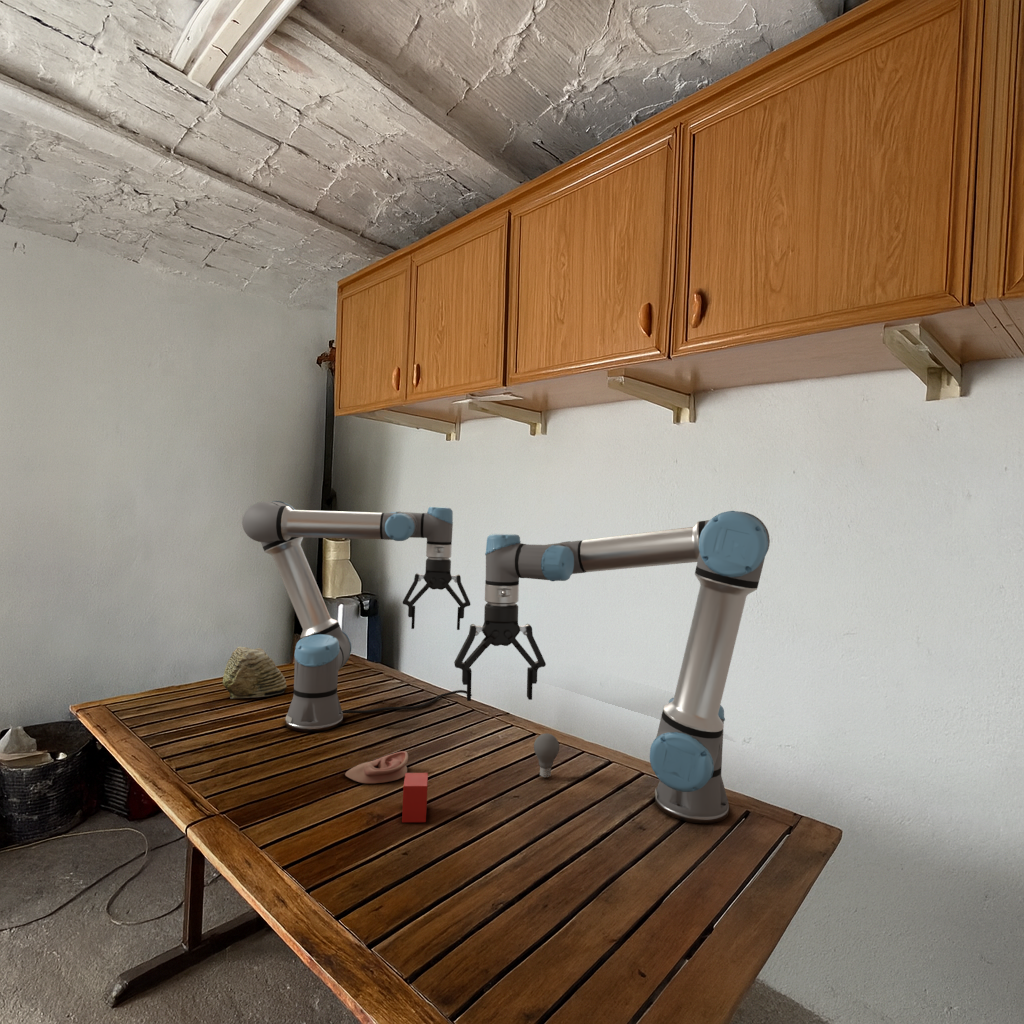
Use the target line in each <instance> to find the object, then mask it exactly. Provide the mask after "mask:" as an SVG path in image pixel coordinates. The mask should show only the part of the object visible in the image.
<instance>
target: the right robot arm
mask: <svg viewBox="0 0 1024 1024" xmlns="http://www.w3.org/2000/svg"><path fill="white" fill-rule="evenodd" d="M770 543H771V539H770V533H769V530H768V527H767V526H766V525H765V523H764V522H763V520H761V519H760V518H758V517H757V516H756V515H754V514H752V513H749V512H746V511H738V510H737V511H736V510H728V511H723V512H720V513H718V514H717V515H714V516H712V517H711V518H710V519H707V520H699V521H697V522H696V523H695V525H694V526H689V527H681V528H671V529H664V530H656V531H648V532H639V533H638V532H637V533H631V534H630V533H629V534H622V535H615V536H614V535H613V536H606V537H597V538H589V539H583V540H572V541H571V540H570V541H561V542H558V543H548V544H527V543H522V541H521V536H520V535H518V534H516V533H515V534H514V533H491V534H489V535H488V536H487V538H486V545H485V553H484V556H485V581H484V601H485V604H484V615H483V625H476V624H474V623H471V624H470V625H469V631H468V635H467V637H466V639H465V641H463V642H464V643H463V644H462V646H461V648H460V650H459V652H458V653H457V655H456V658H455V660H454V662H453V663H454V667H455V668H456V669H460V670H461V671H462V672H461V683H462V686H466V691H467V694H466V700H467V702H471V701H472V696H471V694H472V675H473V673H472V672H473V671H472V668H471V667H472V666H473V665H474V664H475V662H476V661H477V660H478V659H479V658H480V656H481V655H482V654H483V653H484V652H485V651H486V650H487V649H488V648H489V647H490V646H491V645H492V646H493V647H500V646H503V647H508V646H510V645H511V644H512V645H513V647H514V648H515V649H516V651H518V652H519V654H520V655H521V656H522V657H523V659H524V660H525V661H526V662H527V663H528V665H529V666H530V667H527V669H526V670H527V672H526V674H527V675H526V698H527V700H528V701H532V700H533V685H536V684H537V682H538V670H539V669H540V668H545V667H546V665H547V663H546V661H545V659H544V655H542V653H541V650H540V648H539V646H538V644H537V642H536V639H535V637H534V634H533V627H532V626H531V624H530V623H526V624H525V625H519V605H518V604H517V603H518V602H519V594H520V593H519V586H520V579H530V580H532V579H533V580H542V581H550V582H565V581H568V580H569V579H570V578H571V576H572V575H576V574H586V573H595V572H604V571H605V572H606V571H615V570H616V571H617V570H627V569H637V568H647V567H657V566H667V565H678V564H679V565H681V564H691V563H696V567H695V570H694V575H695V577H696V579H697V580H698V582H699V584H700V585H699V590H698V594H697V598H696V602H695V605H694V606H695V607H694V610H693V615H692V619H691V624H690V628H689V632H688V636H687V639H686V640H687V641H686V645H685V649H684V654H683V657H682V661H681V667H680V671H679V675H678V679H677V682H676V683H677V684H676V687H675V691H674V697H672V698H670V699H669V701H668V703H666V704H664V705H663V708H662V711H661V712H662V713H661V716H660V720H659V725H658V728H657V733H656V736H655V738H654V739H653V741H652V743H651V745H650V749H649V764H650V767H651V769H652V772H654V774H655V776H656V777H657V778H658V780H659V781H658V784H657V786H656V787H655V789H654V794H655V795H654V802H655V805H656V807H657V808H658V809H660V810H661V811H662V812H663V813H665V814H666V815H667V816H668V815H669V816H670V817H672V818H674V819H677V820H680V821H684V822H688V823H693V824H714V823H720V822H722V821H723V820H725V819H727V817H728V815H729V809H730V808H729V807H730V804H729V799H728V794H727V791H726V788H725V785H724V781H723V777H722V765H723V745H724V726H725V721H726V718H725V709H724V707H723V706H722V701H723V695H724V691H725V688H726V683H727V680H728V679H727V678H728V675H729V670H730V667H731V662H732V659H733V654H734V651H735V646H736V642H737V638H738V634H739V629H740V625H741V621H742V616H743V613H744V609H745V605H746V601H747V597H748V595H750V594H751V593H753V592H755V591H757V590H758V587H759V584H760V579H761V575H762V572H763V568H764V563H765V560H766V555H767V554H768V551H769V549H770ZM480 633H482V634H483V635H484V636H485V637H484V638H483V639H482V640H481V642H480V643H479V644H478V646H477V647H476V648H475V649H474V650H473V651H472V652H471V653H470V655H469V656H468V657H467V658H466V656H467V654H468V652H469V650H470V648H471V646H472V645H473V642H474V640H475V638H476V636H479V634H480ZM520 633H522V635H524V636H526V639H527V641H528V643H529V645H530V647H531V650H532V651H533V653H534V656H535V657H536V661H535V660H534V659H533V658H532V657H531V656H530V654H529V653H528V652H527V651H526V649H525V648H524V647H523V646H522V645H521V643H520V642H519V641H518V640H517V636H518V635H519V634H520ZM465 658H466V659H465ZM464 660H465V661H464Z"/></svg>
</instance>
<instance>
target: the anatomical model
mask: <svg viewBox="0 0 1024 1024" xmlns="http://www.w3.org/2000/svg"><path fill="white" fill-rule="evenodd" d="M408 761H409V753H408V752H407V751H404V750H402V751H397V752H394V753H393V752H392V753H390V754H387V755H384V756H381V757H378V758H376V759H373V760H371V761H367V762H362V763H359V764H357V765H355V766H353V767H351V768H350V769H348V770H347V771H346V772H345V773H344V775H345V777H347V778H348V779H349V780H352V781H354V782H358V783H360V784H380V783H388V782H393V781H397V780H400V779H402V778H405V773H408V767H407V763H408Z"/></svg>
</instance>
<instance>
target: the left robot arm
mask: <svg viewBox="0 0 1024 1024" xmlns="http://www.w3.org/2000/svg"><path fill="white" fill-rule="evenodd" d="M453 515H454V513H453V510H452V508H450V507H447V506H446V507H444V506H429V507H428V509H427V512H411V511H410V512H408V511H389V512H371V511H370V512H369V511H342V510H341V511H338V510H306V509H295V508H294V507H293V505H291V504H289V503H286V502H284V501H280V500H272V501H259V502H255V503H253V504H251V505H250V506H248V507H247V509H246V510H245V511H244V513H243V515H242V519H241V520H242V521H241V524H242V529H243V531H244V533H245V534H246V535H247V537H248V538H250V540H253V541H255V542H258V543H260V545H261V547H262V550H263V551H264V553H266V554H268V555H270V556H272V558H273V561H274V564H275V566H276V568H277V571H278V574H279V575H280V579H281V580H282V583H283V585H284V587H285V590H286V593H287V595H288V598H289V600H290V603H291V605H292V607H293V609H294V612H295V614H296V617H297V619H298V621H299V624H300V626H301V628H302V632H301V634H300V637H299V638H300V639H299V640H298V641H297V642H296V643H295V650H294V655H293V656H294V672H293V673H294V674H293V695H292V696H293V697H292V699H291V702H290V704H289V708H288V711H287V713H286V715H285V726H286V728H287V729H289V730H291V731H294V732H295V731H296V732H301V733H316V732H325V731H329V730H332V729H335V728H337V727H339V726H340V725H342V723H343V722H344V714H370V713H377V712H382V711H392V710H393V711H395V710H397V711H398V710H399V711H400V710H402V711H404V710H405V711H406V710H407V711H408V710H416V709H420V708H424V707H426V706H429V705H431V704H433V703H435V702H437V701H438V700H440V698H443V697H447V696H451V695H454V694H455V695H456V694H466V695H467V690H464V689H458V690H453V691H449V692H446V693H445V692H444V693H442V694H439V695H437V696H436V697H435V698H434V699H431V700H430V701H427V702H424V703H422V704H418V705H411V706H385V707H379V708H373V709H362V710H361V709H359V710H357V709H356V710H355V709H354V710H353V709H350V710H349V709H348V710H347V709H346V710H343V709H342V706H341V702H340V699H339V695H338V682H339V681H338V680H339V678H338V677H339V671H340V670H341V668H342V667H344V666H346V664H347V663H348V661H349V659H350V656H351V653H352V648H353V647H352V641H351V638H350V636H349V635H348V634H347V633H346V632H345V631H343V630H342V628H341V625H340V623H339V621H338V620H337V619H334V618H332V616H331V614H330V613H329V611H328V608H327V605H326V603H325V600H324V598H323V595H322V593H321V590H320V588H319V586H318V584H317V583H318V582H317V581H316V578H315V576H314V574H313V572H312V569H311V566H310V564H309V561H308V559H307V557H306V554H305V551H304V549H303V546H302V542H303V539H304V538H314V539H315V538H317V539H318V538H319V539H351V540H352V539H355V540H356V539H357V540H384V541H395V542H404V541H406V540H408V539H410V538H411V539H412V538H413V539H415V538H416V539H426V548H425V549H426V551H425V556H426V559H425V572H424V574H420V573H418V572H416V573H415V574H414V577H413V578H414V579H413V581H412V584H411V585H410V587H409V589H408V591H407V593H406V594H405V596H404V598H403V600H402V605H405V606H407V608H408V609H407V616H408V618H411V630H415V625H416V624H415V622H416V605H415V603H417V601H418V600H419V599H420V598H421V597H422V596H423V595H424V594H425V593H426V592H427V591H428V590H429V589H431V590H440V591H442V590H446V591H447V592H448V594H449V595H450V596H451V597H452V598H453V600H454V601H455V602H456V603H457V605H458V606H457V618H456V630H457V631H461V630H460V629H461V628H460V627H461V619H464V618H465V609H466V608H467V607H470V606H471V601H470V598H469V597H468V594H467V592H466V589H465V587H464V586H463V583H462V577H461V574H459V573H458V574H454V575H452V573H451V570H452V560H451V559H450V558H451V557H452V549H453V548H452V547H453V527H454V522H453V520H454V518H453V517H454V516H453ZM422 580H424V582H425V584H424V585H423V587H422V588H421V589H420V590H419V591H418V592H417V593H416V594H415V595H414V596H413V598H412V599H411V600H410V598H411V596H412V593H413V592H414V591H415V589H416V587H417V585H418V583H419V582H421V581H422ZM452 581H453V582H454V583H456V584H457V587H458V590H459V591H460V593H461V595H462V598H463V600H461V598H460V597H459V595H458V594H457V593H456V591H454V589H453V588H452V586H451V585H450V583H451V582H452ZM463 601H464V602H463ZM472 696H473V694H472V693H471V697H472Z"/></svg>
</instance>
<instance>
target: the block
mask: <svg viewBox="0 0 1024 1024" xmlns="http://www.w3.org/2000/svg"><path fill="white" fill-rule="evenodd" d="M403 780H404V781H403V786H402V789H403V790H402V812H401V813H402V816H401V823H426V822H427V809H428V808H427V807H428V787H429V786H428V784H429V772H407V773H405V776H404V779H403Z"/></svg>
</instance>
